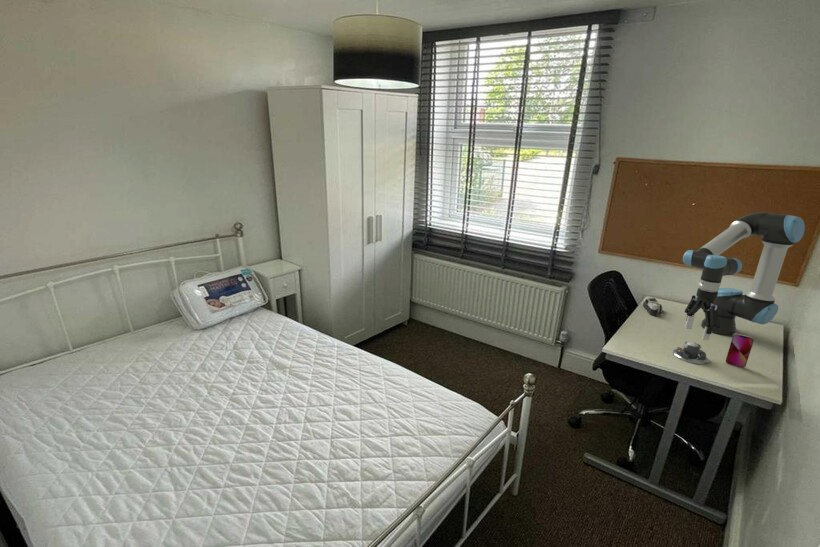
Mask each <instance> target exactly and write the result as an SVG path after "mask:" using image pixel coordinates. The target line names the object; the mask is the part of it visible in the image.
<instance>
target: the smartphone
mask: <svg viewBox="0 0 820 547" xmlns="http://www.w3.org/2000/svg"><path fill="white" fill-rule="evenodd" d="M754 341H755V339H754V337H752V336H749V335H744V334H740V333H737V332H735V334H733V335H732V338H731V340H730V343H729V347H728V350H727V355H726V357H725V363H726V364H728V365H732V366H736V367H739V368H743V369H744V368H745V367H746V366H747V364H748V360H749V357H750V354H751V351H752V348H753V344H754Z"/></svg>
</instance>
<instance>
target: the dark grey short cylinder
mask: <svg viewBox="0 0 820 547" xmlns="http://www.w3.org/2000/svg"><path fill="white" fill-rule="evenodd" d="M682 347H683V348H682V349H683V351H685V352H686V353H689V354H690V358H689V359H697V357H698V353H699V350H701V349H702V345H701V344H699V343H697V342H693V341H685V342H684V343H683V345H682Z"/></svg>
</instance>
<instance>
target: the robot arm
mask: <svg viewBox="0 0 820 547" xmlns="http://www.w3.org/2000/svg"><path fill="white" fill-rule="evenodd" d="M805 230H806V225H805V222H804V219H803V218H801V217H800V216H795V215H792V214H791V215H790V214H781V213H780V214H779V213H773V212H764V211H761V212H754V213H750V214H749V213H748V214H746V215H744V216H741V217H740V218H737V219H736V220H734V221H733V222H731V223H730V225H729V227H728V228H727V229H725V230H723V231H722V232H720V234H718V235H717V236H715V237H713V239H711V240H710V241H709V242H707V243H705V244H703V245H702V246H701V247H700V248H699V249H697V250H694V249H693V250H692V249H688V250H686V251H685V252H684V254H683V256H682V262H683V264H684V265H686V266H690V267H691V268H696V269H700V270H702V271H701V275H700V280H699V284H698V288H697V291H696V294H695V295H692V296H691V299H690V300H689V302H688V304H687V306H686V307H685V309H684V313H686V315H687V316H686V319H685V321H686V322H685V325H684V329H685V330H692V327H693V324H694V320H695V314H696V313H697V312H698V311H699V310H702V312H703V313H704V316H705V317H704V318H703V319H702V321H701V324H700V327H702V328H703V329H704V330H703V332H702V337H701V340H703V341H710V337H711V334H712V333H715V334H719V335H726V336H730V335H731V336H733V334H735V333H737V332H736V331H737V327H736V317H737V318H740V319H744V320H746V321H749V322H752V323H756V324H758V325H766V324H768V323H769V322H771V321H772V320H773V319H774V318H775V316H776V315H777V314H778V311H779V305H778V304H777V303H775V301H776V298H775V297H774V296H773V294H774V291H775V288H776V285H777V282H778V279H779V276H780V273H781V270H782V267H783V264H784V260H785V258H786V255H787V252H788V249H789V248H790V247H793V246H794V244H795V243H798V242H800V241H801V240H802V238H803V237H804V234H805ZM750 236H758V237H761V243H762V244H763V248H762V251H761V254H760V258H759V261H758V265H757V267H756V270H755V273H754V277H753V280H752V283H751V286H750V290H749V291H747V292H745V293H744V292H743V290H741V289H738V288H731V287H721V284H722V280H723V277H724V276H732V275H735V274H738V273H740V272H741V270H742V269H743V263H742V262H741V260H739V258H735V257H726V256H722V255H721V254H723V253H724V252H725V251H727V250H728V249H729V248H731V247H732V246H733V245H735V244H736V243H738V242H739V241H740V240H741V241H742V239H746V238H748V237H750Z"/></svg>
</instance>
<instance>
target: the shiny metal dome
mask: <svg viewBox="0 0 820 547" xmlns="http://www.w3.org/2000/svg"><path fill="white" fill-rule="evenodd" d="M672 355H673V356H674V357H675V358H677V359H679V360H681V361H684V362H686V363H690V364H695V365H706V364H708V363H709V358H708V357H707V353H706V352H705V351H704V350H703V349H700V350H699V353H698V357H697V359H689V358H690V354H689V353H686V352H685V351H683V348H682V347H678V346H677V347H676V349H673V351H672Z"/></svg>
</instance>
